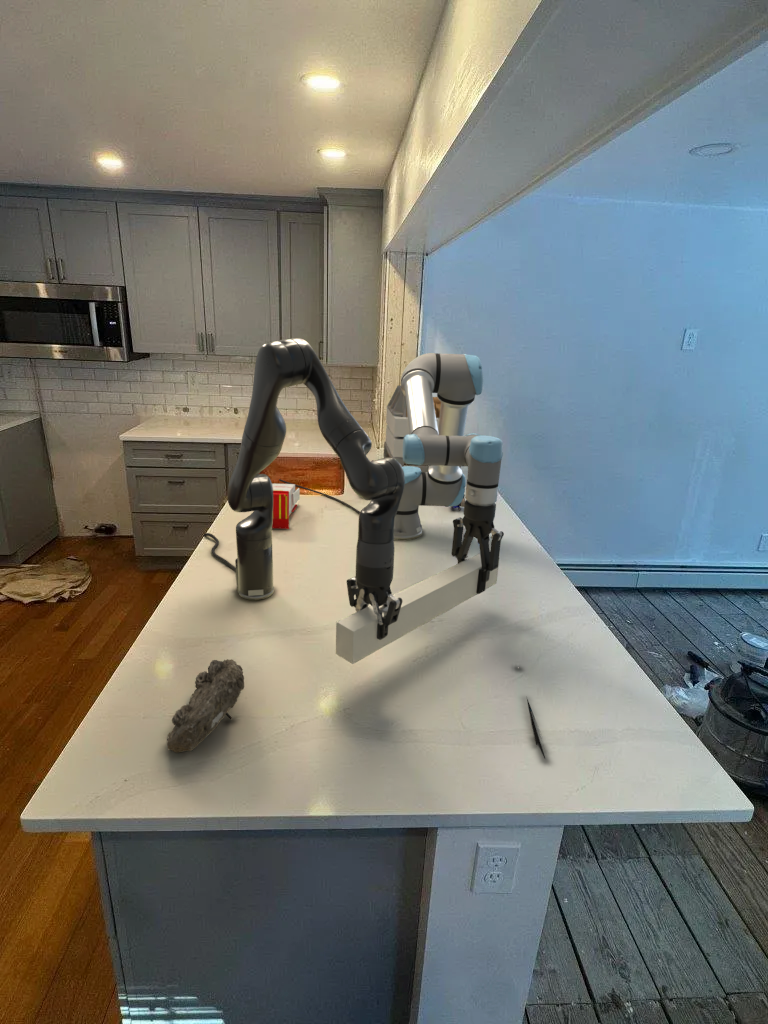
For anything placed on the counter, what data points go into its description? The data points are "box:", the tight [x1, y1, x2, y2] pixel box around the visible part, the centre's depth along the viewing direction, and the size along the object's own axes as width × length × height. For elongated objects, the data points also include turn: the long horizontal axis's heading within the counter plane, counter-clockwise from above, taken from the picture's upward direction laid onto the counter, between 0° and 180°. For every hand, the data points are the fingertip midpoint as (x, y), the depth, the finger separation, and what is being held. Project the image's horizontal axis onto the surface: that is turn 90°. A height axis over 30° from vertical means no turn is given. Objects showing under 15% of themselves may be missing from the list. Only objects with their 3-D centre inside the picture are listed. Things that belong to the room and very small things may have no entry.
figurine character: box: [449, 493, 466, 511], centre depth 229 cm, size 7×8×15 cm
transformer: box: [383, 384, 462, 470], centre depth 268 cm, size 34×33×41 cm
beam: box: [335, 552, 500, 665], centre depth 130 cm, size 52×5×8 cm, turn 137°
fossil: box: [166, 658, 245, 754], centre depth 106 cm, size 22×10×15 cm
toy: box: [272, 483, 301, 530], centre depth 210 cm, size 12×13×30 cm
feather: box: [517, 666, 549, 759], centre depth 114 cm, size 2×28×2 cm
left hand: (371, 632), depth 118 cm, fingers closed on beam, 5 cm apart
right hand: (471, 587), depth 144 cm, fingers closed on beam, 5 cm apart
